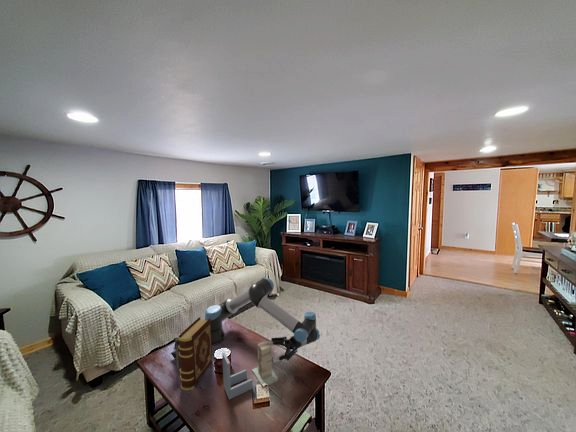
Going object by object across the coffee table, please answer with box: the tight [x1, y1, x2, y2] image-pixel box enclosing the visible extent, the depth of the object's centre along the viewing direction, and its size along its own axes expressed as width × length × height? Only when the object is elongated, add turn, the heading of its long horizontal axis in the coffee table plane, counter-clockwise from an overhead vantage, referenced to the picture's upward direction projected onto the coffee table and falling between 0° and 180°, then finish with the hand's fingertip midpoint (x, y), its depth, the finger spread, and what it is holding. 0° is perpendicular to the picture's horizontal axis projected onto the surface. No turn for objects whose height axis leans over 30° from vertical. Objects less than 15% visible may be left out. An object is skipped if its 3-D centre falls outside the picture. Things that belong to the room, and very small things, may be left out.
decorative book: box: [177, 316, 213, 392], centre depth 137 cm, size 22×8×30 cm, turn 168°
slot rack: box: [221, 352, 253, 400], centre depth 128 cm, size 9×13×20 cm
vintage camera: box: [170, 336, 181, 370], centre depth 150 cm, size 10×16×20 cm, turn 45°
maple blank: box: [257, 340, 273, 379], centre depth 137 cm, size 6×6×18 cm
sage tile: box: [251, 366, 280, 386], centre depth 138 cm, size 15×10×1 cm, turn 32°
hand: (268, 353), depth 138 cm, fingers open, 13 cm apart
